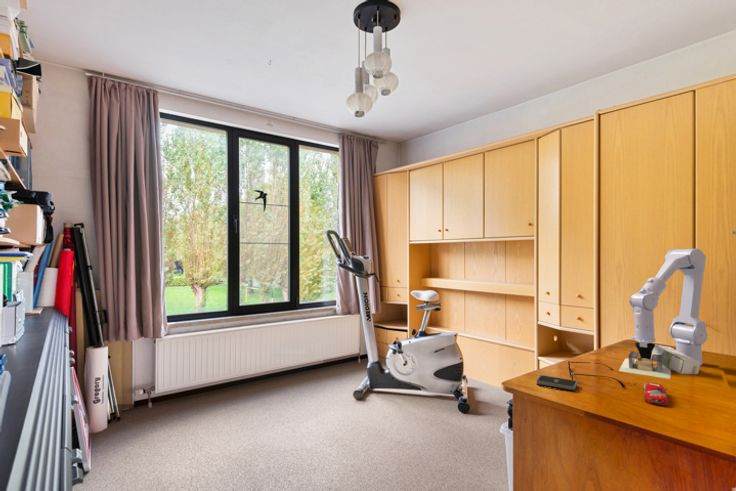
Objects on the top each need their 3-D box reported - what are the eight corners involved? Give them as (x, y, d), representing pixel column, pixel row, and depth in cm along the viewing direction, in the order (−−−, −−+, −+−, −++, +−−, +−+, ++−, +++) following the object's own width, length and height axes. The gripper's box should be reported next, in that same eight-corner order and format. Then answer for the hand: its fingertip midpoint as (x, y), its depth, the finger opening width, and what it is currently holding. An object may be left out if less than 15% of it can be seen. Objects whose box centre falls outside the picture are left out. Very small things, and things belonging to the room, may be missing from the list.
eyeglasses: (566, 370, 137) (566, 359, 137) (617, 375, 130) (616, 363, 130) (570, 383, 122) (569, 371, 122) (627, 390, 115) (626, 377, 115)
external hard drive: (541, 380, 125) (540, 374, 125) (577, 387, 119) (577, 381, 119) (536, 386, 120) (536, 380, 120) (574, 393, 113) (574, 387, 113)
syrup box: (701, 362, 123) (669, 346, 138) (683, 359, 124) (653, 343, 138) (697, 378, 124) (665, 360, 138) (679, 375, 124) (649, 358, 139)
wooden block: (639, 365, 134) (638, 357, 134) (652, 367, 131) (652, 359, 131) (637, 369, 130) (637, 360, 130) (652, 371, 128) (651, 362, 128)
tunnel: (631, 363, 138) (630, 351, 138) (662, 367, 132) (661, 355, 132) (629, 368, 132) (628, 355, 132) (661, 372, 126) (660, 359, 126)
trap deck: (625, 362, 144) (625, 358, 144) (671, 368, 135) (671, 364, 135) (618, 375, 129) (618, 370, 129) (670, 383, 119) (670, 378, 119)
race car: (669, 409, 100) (668, 394, 100) (644, 405, 104) (643, 390, 104) (666, 394, 111) (665, 381, 111) (643, 390, 114) (643, 377, 114)
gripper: (632, 322, 142) (634, 357, 142) (628, 327, 131) (630, 366, 131) (656, 324, 138) (657, 360, 137) (653, 330, 127) (655, 369, 126)
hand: (645, 363), depth 134 cm, fingers closed
